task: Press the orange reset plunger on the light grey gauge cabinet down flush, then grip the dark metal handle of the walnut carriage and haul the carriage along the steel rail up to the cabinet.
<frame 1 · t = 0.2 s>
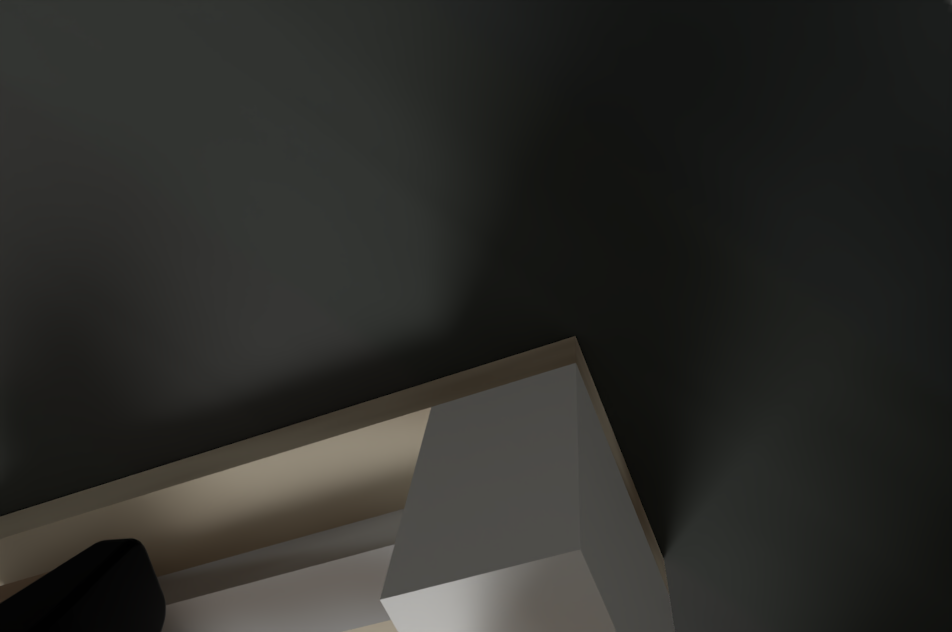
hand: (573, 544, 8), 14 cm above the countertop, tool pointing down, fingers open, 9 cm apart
rail track: (313, 539, 27), on the countertop
gauge cabinet: (555, 473, 25), resting on rail track
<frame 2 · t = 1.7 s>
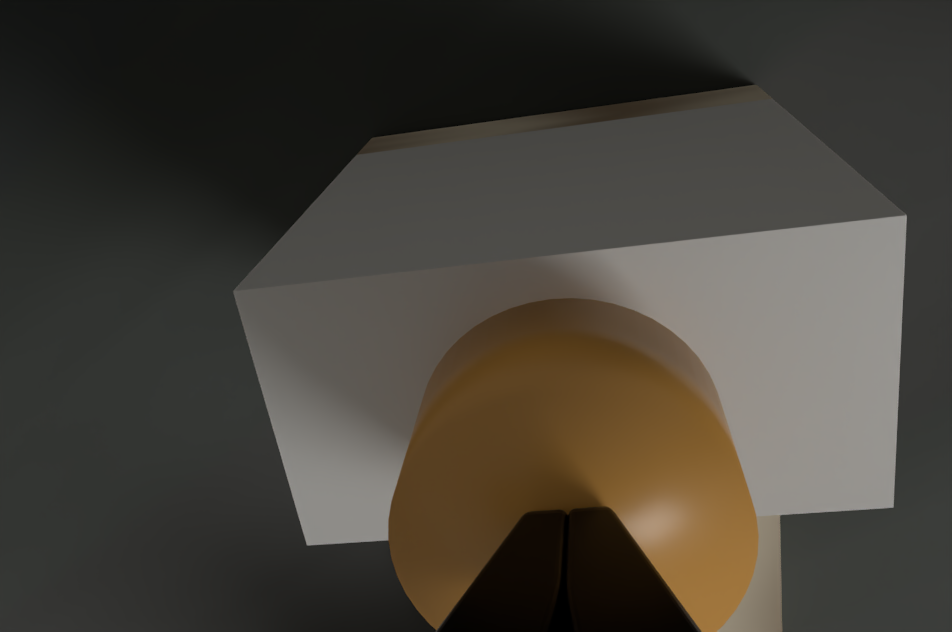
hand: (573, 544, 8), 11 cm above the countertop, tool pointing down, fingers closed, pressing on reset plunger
rail track: (603, 505, 22), on the countertop
gauge cabinet: (568, 204, 19), resting on rail track
reset plunger: (569, 486, 9), point 10 cm above the countertop, slide at 0.7 cm, touching gripper
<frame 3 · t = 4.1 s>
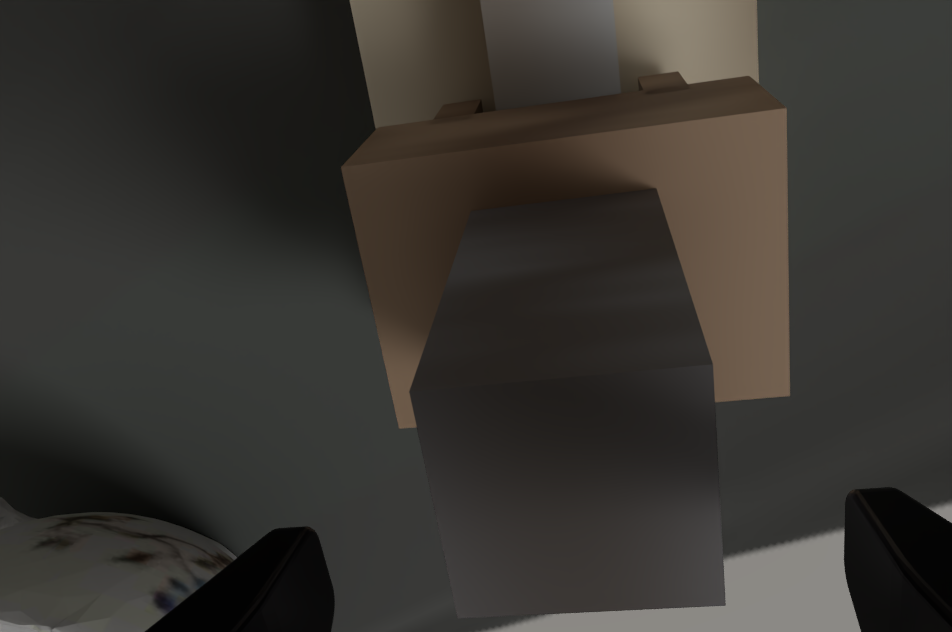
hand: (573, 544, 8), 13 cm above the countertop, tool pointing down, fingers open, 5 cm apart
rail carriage: (572, 303, 14), point 7 cm above the countertop, slide at 0.0 cm
teacup: (145, 557, 27), on the countertop
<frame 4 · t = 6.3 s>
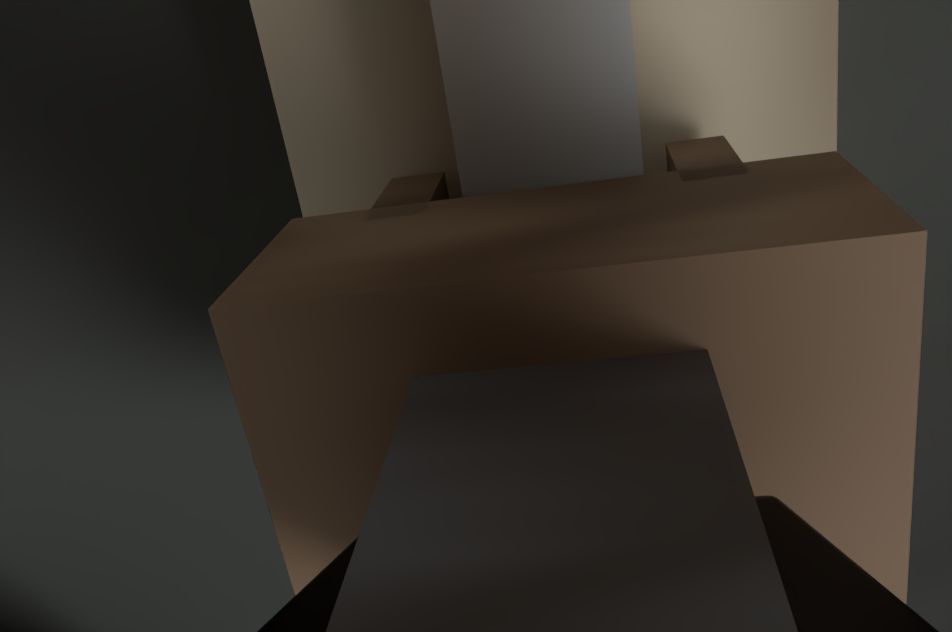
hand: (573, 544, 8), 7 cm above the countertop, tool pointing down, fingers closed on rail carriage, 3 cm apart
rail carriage: (573, 529, 9), point 7 cm above the countertop, slide at 0.0 cm, touching gripper
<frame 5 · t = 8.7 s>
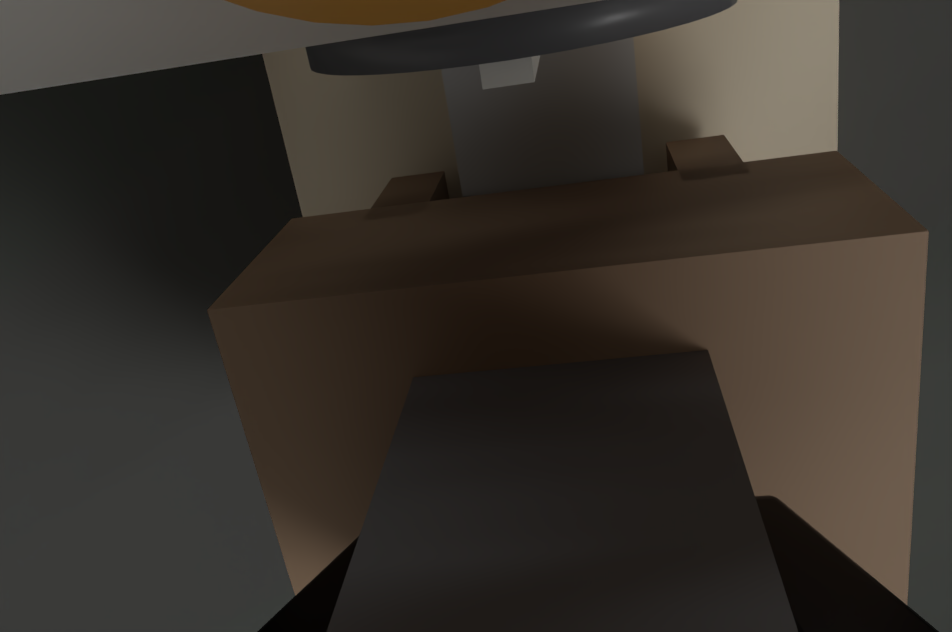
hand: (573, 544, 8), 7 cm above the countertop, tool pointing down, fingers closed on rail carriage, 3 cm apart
rail track: (577, 318, 15), on the countertop
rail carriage: (573, 530, 9), point 7 cm above the countertop, slide at 7.9 cm, touching gripper
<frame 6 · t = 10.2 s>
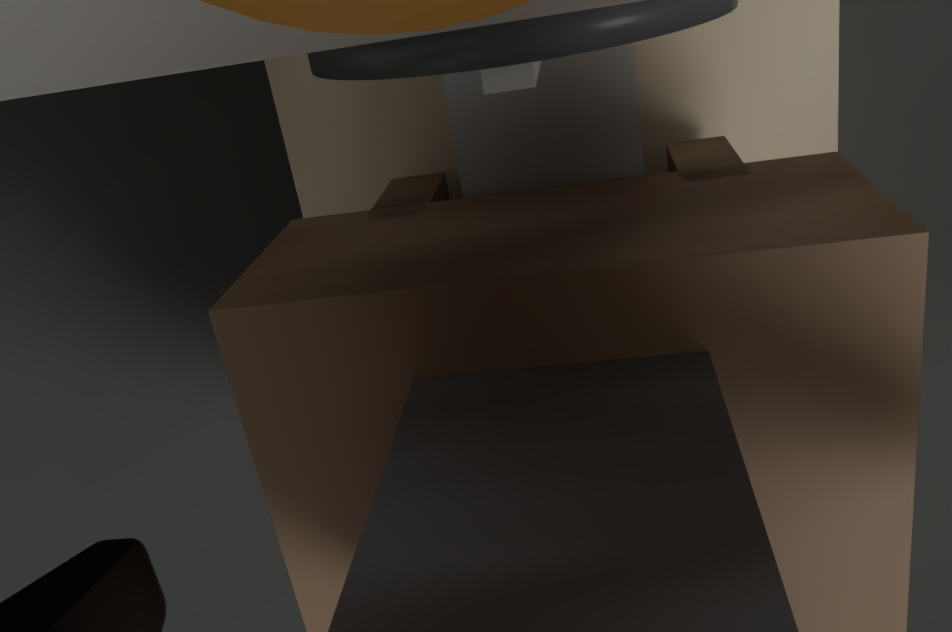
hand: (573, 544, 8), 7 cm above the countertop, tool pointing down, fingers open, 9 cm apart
rail track: (578, 320, 15), on the countertop
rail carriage: (573, 531, 9), point 7 cm above the countertop, slide at 7.9 cm
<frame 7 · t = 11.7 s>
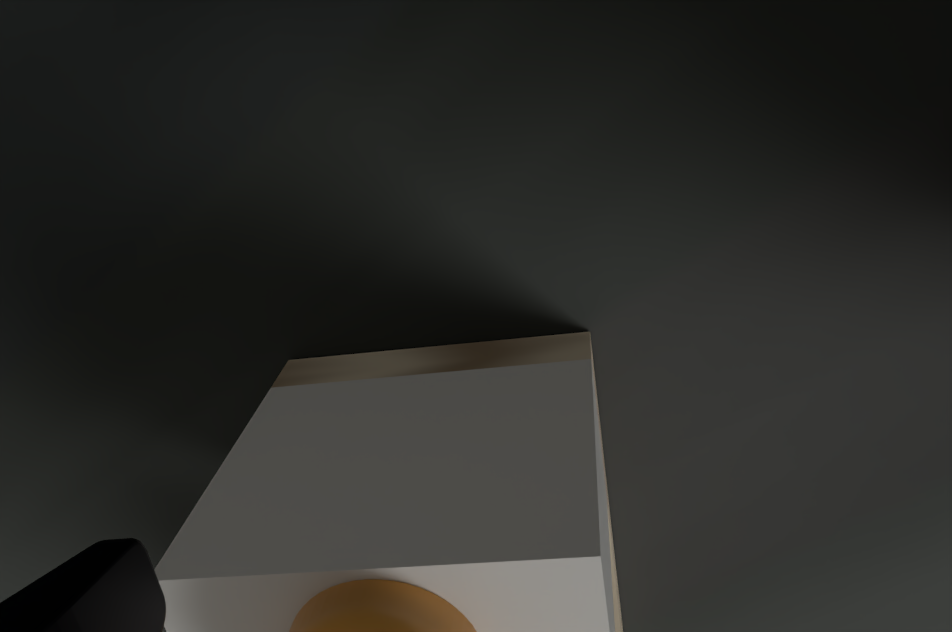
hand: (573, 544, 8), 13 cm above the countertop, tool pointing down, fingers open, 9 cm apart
gauge cabinet: (447, 412, 23), resting on rail track
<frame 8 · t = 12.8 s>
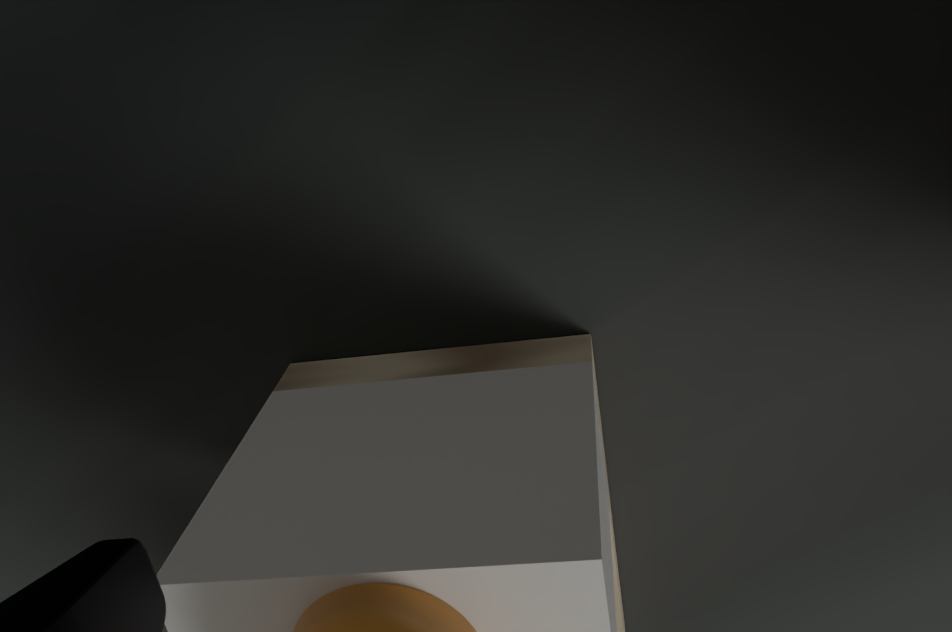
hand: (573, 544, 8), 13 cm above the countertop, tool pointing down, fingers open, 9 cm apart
gauge cabinet: (449, 415, 23), resting on rail track
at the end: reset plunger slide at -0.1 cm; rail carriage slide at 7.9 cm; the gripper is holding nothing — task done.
